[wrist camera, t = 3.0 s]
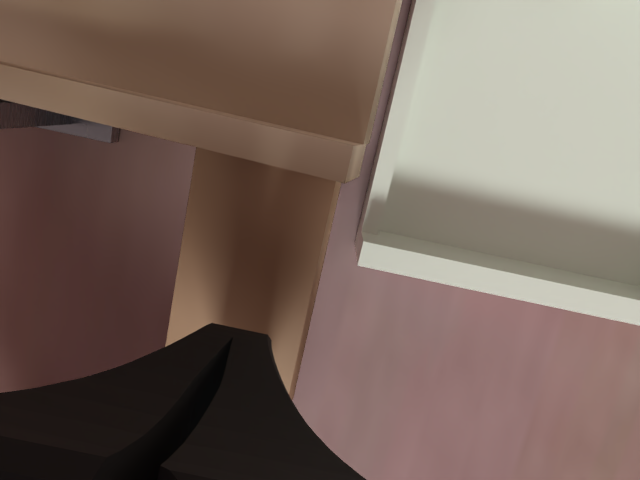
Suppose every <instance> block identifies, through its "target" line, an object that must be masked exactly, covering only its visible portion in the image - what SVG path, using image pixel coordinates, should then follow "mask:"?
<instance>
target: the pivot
mask: <svg viewBox="0 0 640 480" xmlns="http://www.w3.org/2000/svg"><path fill="white" fill-rule="evenodd" d="M22 127H39V128H43V129H48V130H52V131H57V132H62V133H66V134H71V135H76V136H80V137H85V138H89V139H94V140H99V141H103V142H108V143H114V142H118V140H119V132H120V128H117V127H112V126H108V125H104V124H100V123H96V122H92V121H88V120H84V119H80V118H76V117H72V116H68V115H64V114H59V113H55V112H51V111H47V110H43V109H39V108H35V107H31V106H27V105H23V104H19V103H15V102H11V101H6V100H2V99H0V129H7V128H22Z"/></svg>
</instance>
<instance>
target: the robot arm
mask: <svg viewBox="0 0 640 480" xmlns="http://www.w3.org/2000/svg"><path fill="white" fill-rule="evenodd" d="M271 343H272V340H271V339H270V337H269V336H268V334H263V333H258V332H253V331H248V330H244V329H239V328H234V327H229V326H225V325H220V324H215V323H210V324H208V325H206V326H204V327H202V328H200V329H198V330H197V331H195V332H193V333H191V334H189V335H187V336H186V337H184V338H182V339H180V340H178V341H176V342H174V343H172V344H170V345H168V346H166V347H164V348H162V349H160V350H158V351H155V352H153V353H151V354H148V355H146V356H144V357H142V358H139V359H137V360H135V361H132V362H130V363H127V364H125V365H122V366H119V367H116V368H114V369H111V370H107V371H104V372H101V373H98V374H94V375H91V376H87V377H84V378H80V379H75V380H71V381H66V382H61V383H57V384H52V385H47V386H43V387H38V388H32V389H26V390H19V391H12V392H5V393H0V480H366V479H365V478H363V477H362V476H361V475H359V474H358V473H357V472H356V471H354V470H353V469H352V468H351V467H349V466H348V465H347V464H346V463H345V462H343V461H342V460H341V459H340V458H339V457H338V456H337V455H335V454H334V453H333V452H332V451H331V450H330V449H329V448H328V447H327V446H326V445H325V444H324V443H323V442H322V440H321V439H320V438H319V437H318V436H317V435H316V434H315V433H314V432H313V431H312V429H311V428H310V427H309V426H308V425H307V423H306V422H305V421H304V419H303V418H302V416H301V415H300V413H299V412H298V410H297V409H296V407H295V405H294V403H293V402H292V400H291V398H290V396H289V394H288V392H287V390H286V388H285V386H284V384H283V381H282V379H281V376H280V374H279V371H278V369H277V366H276V363H275V359H274V356H273V351H272V344H271Z"/></svg>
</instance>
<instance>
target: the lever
mask: <svg viewBox="0 0 640 480" xmlns="http://www.w3.org/2000/svg"><path fill="white" fill-rule="evenodd" d="M401 4H402V0H0V99H2V100H6V101H11V102H15V103H19V104H23V105H27V106H31V107H35V108H39V109H43V110H47V111H51V112H55V113H59V114H64V115H68V116H72V117H76V118H80V119H84V120H88V121H92V122H96V123H100V124H104V125H108V126H112V127H117V128H121V129H125V130H129V131H133V132H137V133H141V134H145V135H149V136H153V137H157V138H161V139H165V140H170V141H174V142H178V143H182V144H186V145H190V146H194V147H196V153H195V159H194V166H193V172H192V179H191V185H190V192H189V198H188V204H187V211H186V217H185V224H184V230H183V237H182V243H181V249H180V256H179V262H178V269H177V275H176V281H175V288H174V294H173V301H172V307H171V314H170V320H169V326H168V333H167V339H166V346H168V345H170V344H172V343H174V342H176V341H178V340H180V339H182V338H184V337H186V336H187V335H189V334H191V333H193V332H195V331H197V330H198V329H200V328H202V327H204V326H206V325H208V324H210V323H215V324H220V325H225V326H229V327H234V328H239V329H244V330H248V331H253V332H258V333H263V334H268V336H269V337H270V339H271V340H272V343H271V344H272V351H273V356H274V359H275V363H276V366H277V369H278V371H279V374H280V376H281V379H282V381H283V384H284V386H285V388H286V390H287V392H288V394H289V396H290V398H291V400H293V397H294V392H295V388H296V383H297V379H298V374H299V370H300V365H301V361H302V357H303V352H304V348H305V343H306V339H307V334H308V330H309V325H310V321H311V316H312V312H313V307H314V303H315V298H316V294H317V289H318V285H319V281H320V276H321V272H322V267H323V263H324V258H325V254H326V249H327V245H328V240H329V236H330V231H331V227H332V222H333V218H334V214H335V209H336V205H337V200H338V196H339V191H340V187H341V183H347V182H349V181H351V180H353V179H355V178H357V177H359V174H360V170H361V165H362V161H363V157H364V152H365V148H366V144H369V142H370V138H371V134H372V129H373V125H374V121H375V116H376V112H377V108H378V103H379V99H380V95H381V91H382V86H383V82H384V78H385V73H386V69H387V65H388V60H389V56H390V52H391V47H392V43H393V39H394V35H395V30H396V26H397V22H398V17H399V13H400V9H401ZM166 346H165V347H166Z"/></svg>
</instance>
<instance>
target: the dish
mask: <svg viewBox="0 0 640 480" xmlns="http://www.w3.org/2000/svg"><path fill="white" fill-rule="evenodd" d="M355 251H356V258H357V265H358V266H362V267H367V268H372V269H376V270H381V271H386V272H391V273H395V274H400V275H405V276H409V277H414V278H419V279H423V280H428V281H433V282H438V283H442V284H447V285H452V286H456V287H461V288H466V289H470V290H475V291H480V292H485V293H489V294H494V295H499V296H503V297H508V298H513V299H517V300H522V301H527V302H532V303H536V304H541V305H546V306H550V307H555V308H560V309H564V310H569V311H574V312H579V313H583V314H588V315H593V316H597V317H602V318H607V319H611V320H616V321H621V322H626V323H630V324H635V325H640V0H412V3H411V7H410V11H409V15H408V20H407V24H406V28H405V32H404V37H403V41H402V45H401V49H400V53H399V58H398V62H397V66H396V70H395V75H394V79H393V83H392V87H391V92H390V96H389V100H388V104H387V109H386V113H385V117H384V121H383V125H382V130H381V134H380V138H379V142H378V147H377V151H376V155H375V159H374V164H373V168H372V172H371V176H370V180H369V185H368V189H367V193H366V197H365V202H364V206H363V210H362V214H361V219H360V223H359V227H358V231H357V236H356V240H355Z"/></svg>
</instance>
